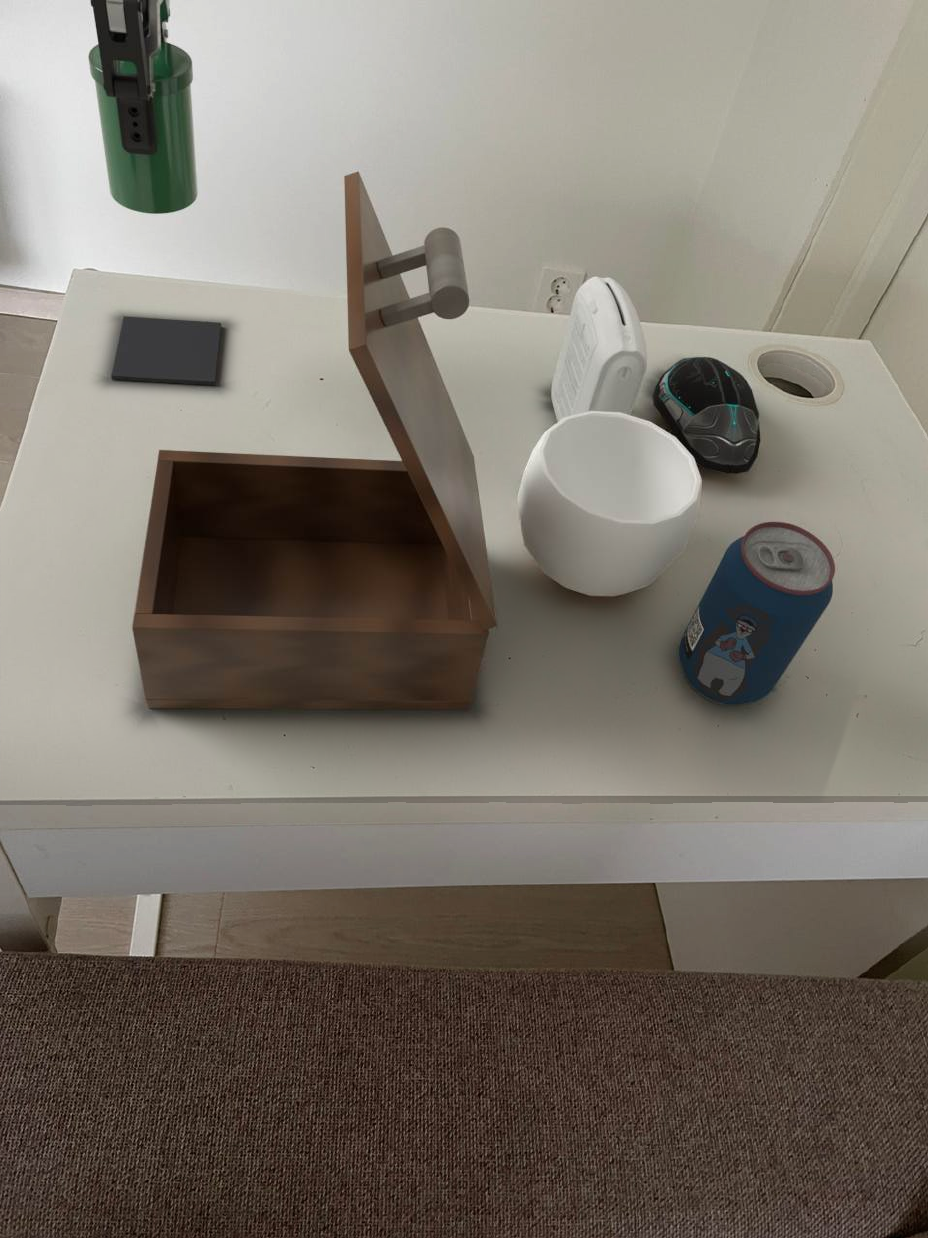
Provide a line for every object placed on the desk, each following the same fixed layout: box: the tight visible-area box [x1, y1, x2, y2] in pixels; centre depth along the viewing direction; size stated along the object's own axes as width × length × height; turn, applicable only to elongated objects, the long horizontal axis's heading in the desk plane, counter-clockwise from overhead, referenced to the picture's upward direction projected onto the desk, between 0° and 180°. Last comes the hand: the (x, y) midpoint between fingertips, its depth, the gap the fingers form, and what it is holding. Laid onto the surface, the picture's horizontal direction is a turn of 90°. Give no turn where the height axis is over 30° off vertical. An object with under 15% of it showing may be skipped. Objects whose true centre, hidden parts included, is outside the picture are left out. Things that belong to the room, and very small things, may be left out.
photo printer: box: [550, 275, 648, 423], centre depth 79 cm, size 10×4×12 cm, turn 8°
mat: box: [111, 315, 222, 386], centre depth 82 cm, size 8×8×1 cm
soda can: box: [678, 521, 836, 706], centre depth 65 cm, size 7×7×12 cm
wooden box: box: [131, 449, 490, 711], centre depth 64 cm, size 20×14×8 cm
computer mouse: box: [652, 356, 762, 475], centre depth 84 cm, size 9×17×6 cm, turn 1°
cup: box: [516, 411, 703, 597], centre depth 70 cm, size 12×12×10 cm
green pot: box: [87, 41, 199, 215], centre depth 68 cm, size 6×6×9 cm
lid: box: [343, 171, 498, 630], centre depth 54 cm, size 21×14×5 cm
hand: (146, 125), depth 68 cm, fingers closed on green pot, 6 cm apart
